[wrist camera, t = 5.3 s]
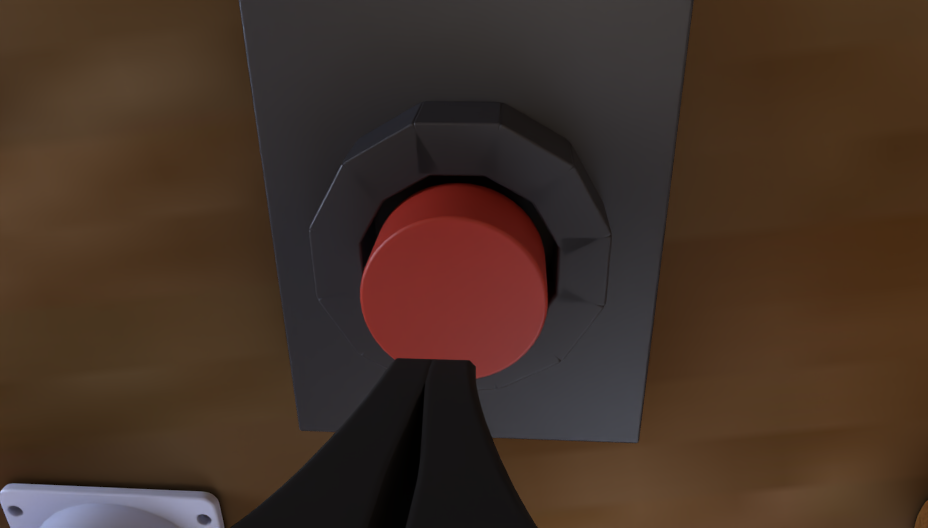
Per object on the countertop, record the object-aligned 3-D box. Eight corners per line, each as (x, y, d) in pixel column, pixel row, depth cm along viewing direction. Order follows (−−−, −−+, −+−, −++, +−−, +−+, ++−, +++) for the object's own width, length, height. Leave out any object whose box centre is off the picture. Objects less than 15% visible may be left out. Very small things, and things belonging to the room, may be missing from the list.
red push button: (541, 335, 18) (544, 384, 16) (381, 331, 18) (365, 379, 16) (548, 182, 16) (552, 218, 14) (370, 179, 16) (351, 215, 15)
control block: (629, 397, 23) (648, 489, 19) (317, 387, 24) (281, 474, 20) (679, -50, 17) (720, -36, 14) (263, -47, 18) (199, -33, 14)
